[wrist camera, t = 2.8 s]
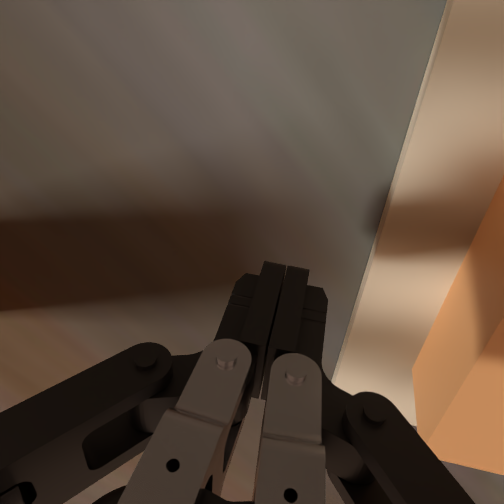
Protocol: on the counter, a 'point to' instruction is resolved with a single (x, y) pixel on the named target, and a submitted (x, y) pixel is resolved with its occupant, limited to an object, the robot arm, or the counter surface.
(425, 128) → the push board
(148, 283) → the counter surface
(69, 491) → the robot arm
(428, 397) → the t block
